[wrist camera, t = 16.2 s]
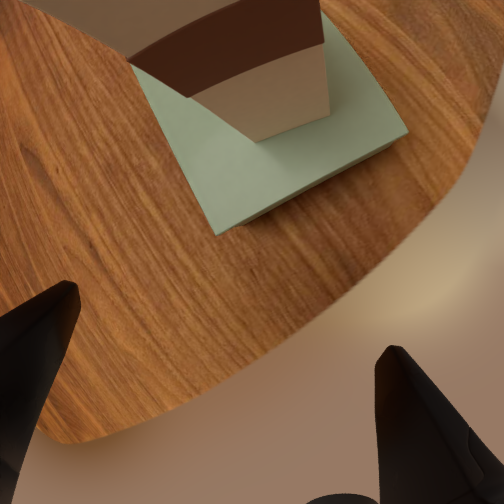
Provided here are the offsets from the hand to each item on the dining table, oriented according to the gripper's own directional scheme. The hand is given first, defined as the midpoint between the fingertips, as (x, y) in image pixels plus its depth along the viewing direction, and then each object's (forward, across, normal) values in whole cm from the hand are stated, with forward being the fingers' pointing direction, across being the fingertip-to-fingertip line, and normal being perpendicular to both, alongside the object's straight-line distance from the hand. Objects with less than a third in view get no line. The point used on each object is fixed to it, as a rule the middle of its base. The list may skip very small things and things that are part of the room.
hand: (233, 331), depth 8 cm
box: (+15, 0, -4) cm, 16 cm away
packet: (+11, 0, -6) cm, 13 cm away
